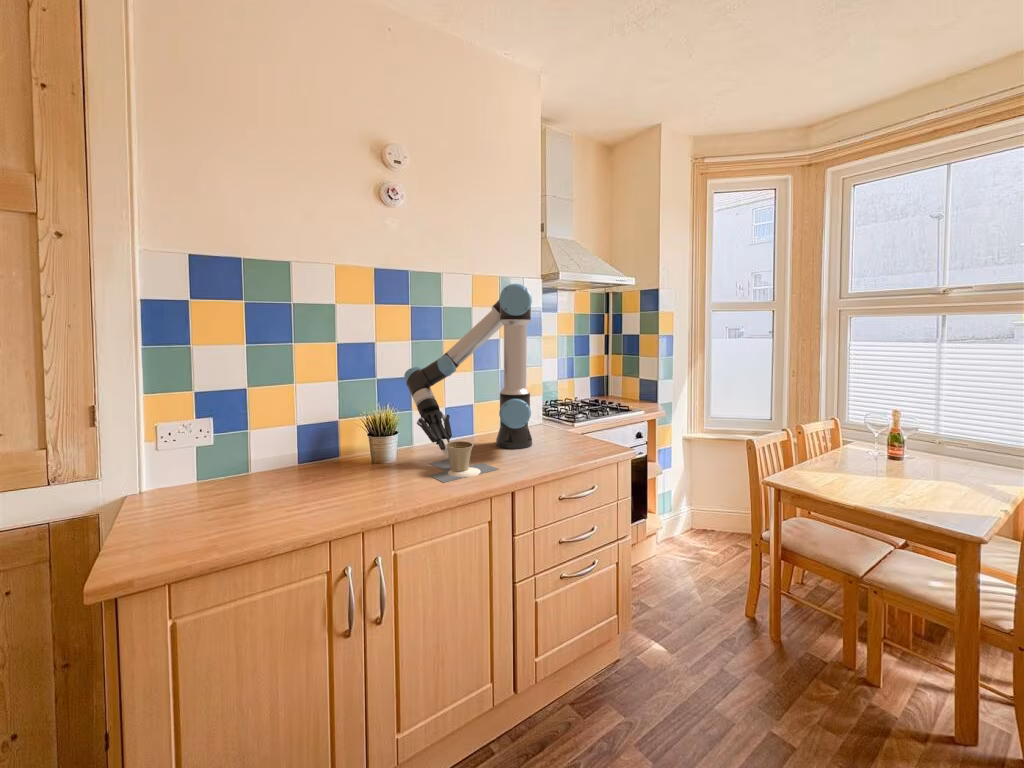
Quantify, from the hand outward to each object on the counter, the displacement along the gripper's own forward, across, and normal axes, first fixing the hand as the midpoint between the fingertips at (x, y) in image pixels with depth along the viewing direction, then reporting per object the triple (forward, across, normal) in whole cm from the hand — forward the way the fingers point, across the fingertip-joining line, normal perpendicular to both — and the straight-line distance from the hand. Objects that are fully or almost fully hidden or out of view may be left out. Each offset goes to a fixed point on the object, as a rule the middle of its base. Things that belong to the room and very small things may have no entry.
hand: (450, 456), depth 162 cm
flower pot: (+6, -1, 0) cm, 6 cm away
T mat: (+4, -1, -1) cm, 5 cm away
